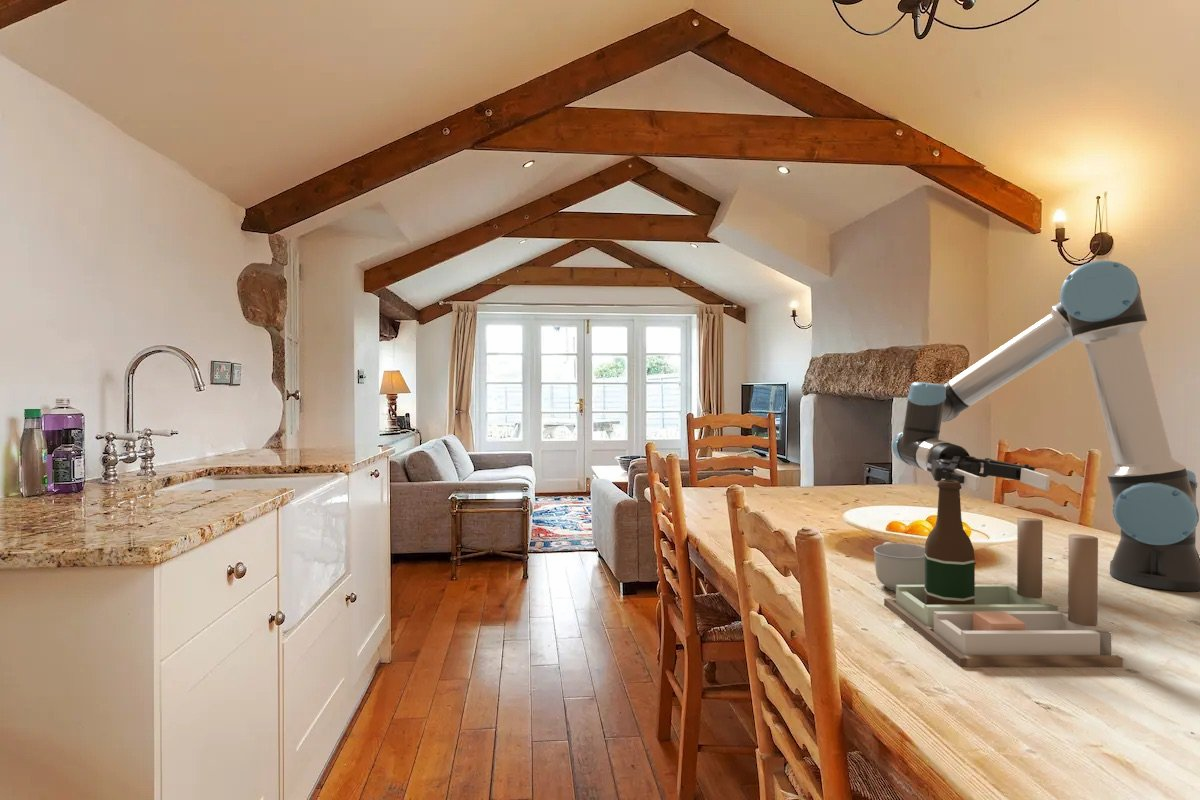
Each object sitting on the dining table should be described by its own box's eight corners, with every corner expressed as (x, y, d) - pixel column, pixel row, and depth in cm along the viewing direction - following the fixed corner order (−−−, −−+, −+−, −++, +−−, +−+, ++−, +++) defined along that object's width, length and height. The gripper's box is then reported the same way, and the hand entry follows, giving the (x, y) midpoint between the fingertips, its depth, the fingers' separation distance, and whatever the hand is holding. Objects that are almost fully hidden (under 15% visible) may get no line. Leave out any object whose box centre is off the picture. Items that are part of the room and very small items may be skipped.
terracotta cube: (1004, 643, 102) (1005, 611, 102) (1024, 656, 97) (1025, 623, 97) (972, 643, 103) (972, 611, 102) (990, 656, 98) (991, 623, 97)
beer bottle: (914, 612, 116) (914, 478, 116) (956, 610, 117) (956, 477, 116) (941, 628, 108) (941, 484, 108) (985, 626, 109) (985, 483, 109)
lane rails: (1010, 604, 120) (1010, 598, 120) (1122, 666, 93) (1122, 658, 93) (884, 604, 120) (884, 598, 120) (960, 666, 94) (960, 658, 94)
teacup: (941, 598, 124) (941, 556, 123) (879, 595, 126) (879, 554, 126) (920, 577, 137) (920, 539, 137) (865, 574, 139) (865, 537, 139)
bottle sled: (1018, 606, 118) (1018, 512, 118) (1064, 631, 106) (1064, 527, 106) (895, 606, 119) (895, 513, 118) (927, 631, 107) (927, 528, 106)
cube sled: (1072, 635, 104) (1073, 529, 104) (1118, 660, 95) (1119, 544, 95) (933, 636, 105) (933, 530, 104) (965, 660, 95) (965, 545, 95)
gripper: (996, 475, 143) (1074, 502, 122) (887, 476, 140) (946, 504, 119) (999, 441, 142) (1078, 463, 121) (889, 442, 140) (949, 464, 119)
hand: (1013, 483), depth 120 cm, fingers open, 13 cm apart
